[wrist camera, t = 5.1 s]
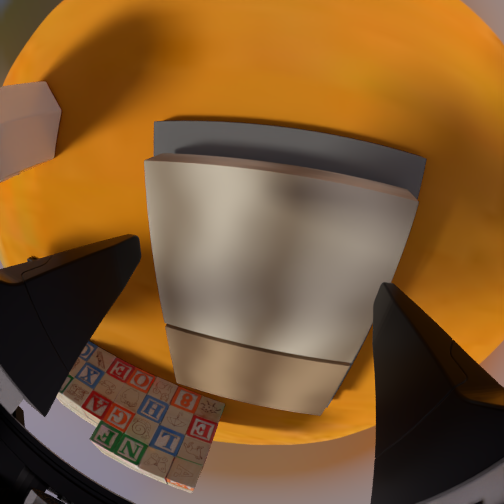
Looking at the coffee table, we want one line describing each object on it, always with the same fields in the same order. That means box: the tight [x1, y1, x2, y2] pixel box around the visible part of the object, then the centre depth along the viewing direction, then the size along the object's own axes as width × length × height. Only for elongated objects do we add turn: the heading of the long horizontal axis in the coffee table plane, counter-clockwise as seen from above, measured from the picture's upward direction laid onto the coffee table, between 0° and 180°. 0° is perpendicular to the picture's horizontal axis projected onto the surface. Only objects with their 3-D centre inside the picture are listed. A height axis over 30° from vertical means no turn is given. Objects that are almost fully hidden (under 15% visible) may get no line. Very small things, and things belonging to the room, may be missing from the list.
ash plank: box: [144, 153, 419, 363], centre depth 16 cm, size 14×12×2 cm
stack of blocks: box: [56, 341, 225, 493], centre depth 26 cm, size 21×6×12 cm, turn 76°
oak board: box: [165, 324, 350, 416], centre depth 21 cm, size 14×8×2 cm, turn 85°
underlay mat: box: [154, 121, 426, 407], centre depth 19 cm, size 16×24×1 cm, turn 175°
